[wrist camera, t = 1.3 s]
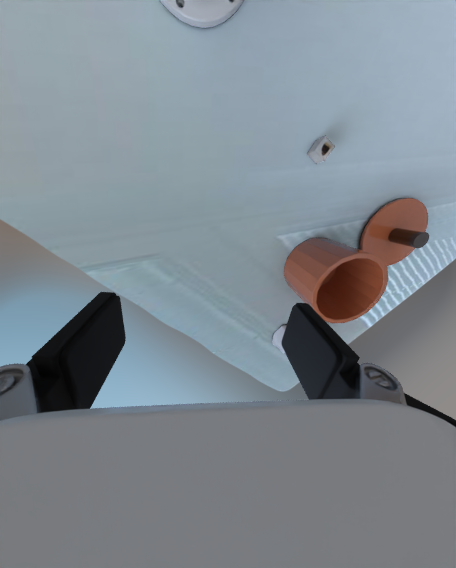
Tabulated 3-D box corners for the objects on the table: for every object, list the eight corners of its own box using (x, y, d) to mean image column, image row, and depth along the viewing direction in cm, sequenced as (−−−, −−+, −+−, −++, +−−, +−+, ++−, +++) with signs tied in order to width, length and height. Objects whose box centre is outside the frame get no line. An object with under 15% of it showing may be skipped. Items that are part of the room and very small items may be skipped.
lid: (389, 185, 31) (426, 183, 26) (434, 214, 34) (475, 217, 29) (345, 252, 35) (369, 262, 30) (388, 272, 39) (417, 284, 34)
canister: (303, 227, 32) (343, 240, 23) (351, 250, 35) (404, 269, 26) (273, 282, 37) (297, 312, 27) (319, 298, 40) (354, 330, 30)
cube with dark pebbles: (325, 150, 28) (336, 146, 25) (315, 163, 28) (325, 161, 26) (316, 139, 27) (326, 134, 25) (306, 153, 28) (315, 150, 25)
